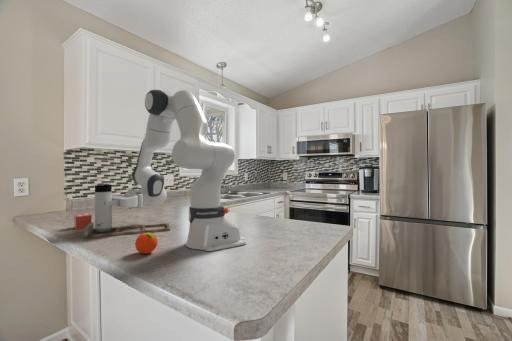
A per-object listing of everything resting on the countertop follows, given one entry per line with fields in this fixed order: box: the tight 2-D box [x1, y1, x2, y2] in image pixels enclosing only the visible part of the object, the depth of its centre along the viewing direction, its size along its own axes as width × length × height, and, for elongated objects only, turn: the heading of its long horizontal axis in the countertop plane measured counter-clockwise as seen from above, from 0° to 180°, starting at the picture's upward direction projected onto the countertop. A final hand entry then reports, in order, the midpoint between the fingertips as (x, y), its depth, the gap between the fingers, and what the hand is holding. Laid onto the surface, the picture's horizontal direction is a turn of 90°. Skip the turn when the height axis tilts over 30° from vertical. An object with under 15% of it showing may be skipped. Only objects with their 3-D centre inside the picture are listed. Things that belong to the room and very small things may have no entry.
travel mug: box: [94, 183, 113, 233], centre depth 108 cm, size 6×7×20 cm
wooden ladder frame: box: [83, 221, 171, 239], centre depth 112 cm, size 33×12×4 cm, turn 113°
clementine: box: [134, 232, 158, 255], centre depth 83 cm, size 8×7×7 cm
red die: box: [73, 213, 92, 231], centre depth 118 cm, size 6×6×6 cm
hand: (101, 202), depth 107 cm, fingers closed on travel mug, 6 cm apart
